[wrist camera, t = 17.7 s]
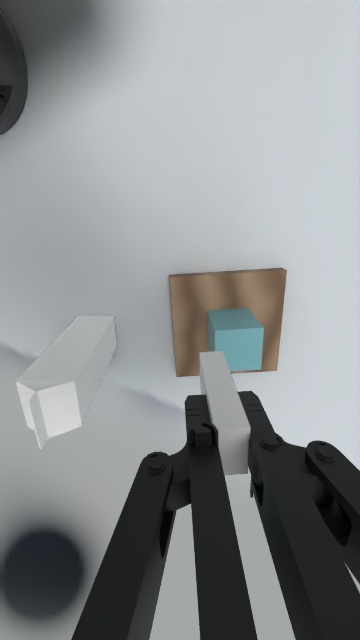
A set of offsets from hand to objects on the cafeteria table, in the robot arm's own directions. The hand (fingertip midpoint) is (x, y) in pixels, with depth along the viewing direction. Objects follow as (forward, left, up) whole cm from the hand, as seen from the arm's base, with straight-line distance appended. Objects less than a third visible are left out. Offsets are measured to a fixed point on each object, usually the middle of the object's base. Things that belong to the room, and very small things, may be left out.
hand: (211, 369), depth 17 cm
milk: (-16, -8, -27) cm, 32 cm away
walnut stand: (+6, -8, -26) cm, 28 cm away
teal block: (+6, -8, -24) cm, 26 cm away
